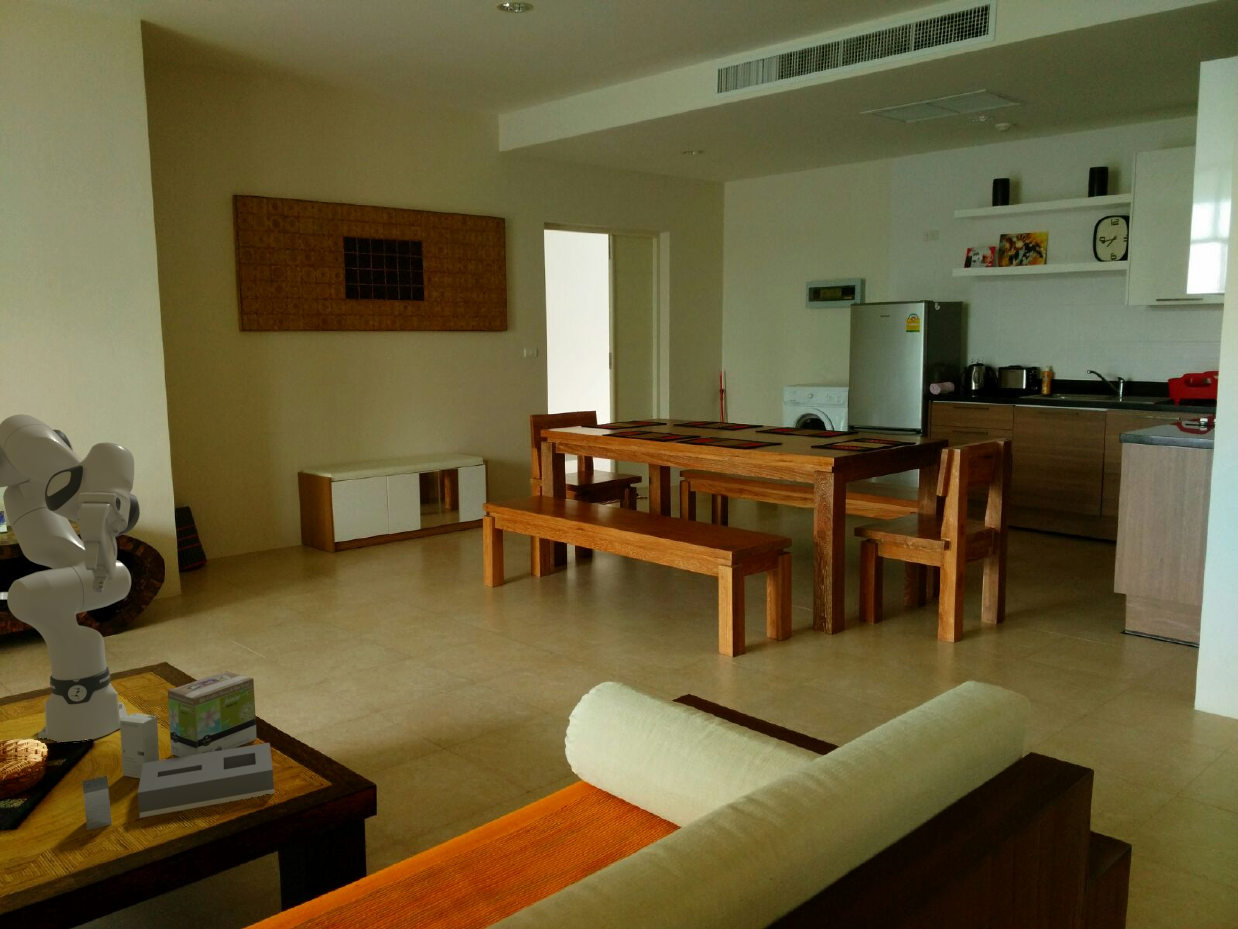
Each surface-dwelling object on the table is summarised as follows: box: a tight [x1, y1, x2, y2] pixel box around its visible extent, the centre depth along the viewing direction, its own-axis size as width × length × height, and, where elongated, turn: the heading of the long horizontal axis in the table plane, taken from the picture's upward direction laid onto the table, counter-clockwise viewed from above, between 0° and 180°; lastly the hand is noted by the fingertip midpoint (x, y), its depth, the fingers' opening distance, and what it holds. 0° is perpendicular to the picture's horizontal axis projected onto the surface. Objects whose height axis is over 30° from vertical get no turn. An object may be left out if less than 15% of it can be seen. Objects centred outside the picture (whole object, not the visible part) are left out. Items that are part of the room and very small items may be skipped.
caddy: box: [137, 742, 275, 819], centre depth 196 cm, size 14×24×5 cm, turn 112°
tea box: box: [167, 670, 257, 757], centre depth 216 cm, size 15×10×15 cm
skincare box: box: [120, 712, 160, 779], centre depth 203 cm, size 6×4×12 cm
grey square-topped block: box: [81, 775, 113, 831], centre depth 183 cm, size 4×4×8 cm
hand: (93, 580), depth 184 cm, fingers open, 8 cm apart
